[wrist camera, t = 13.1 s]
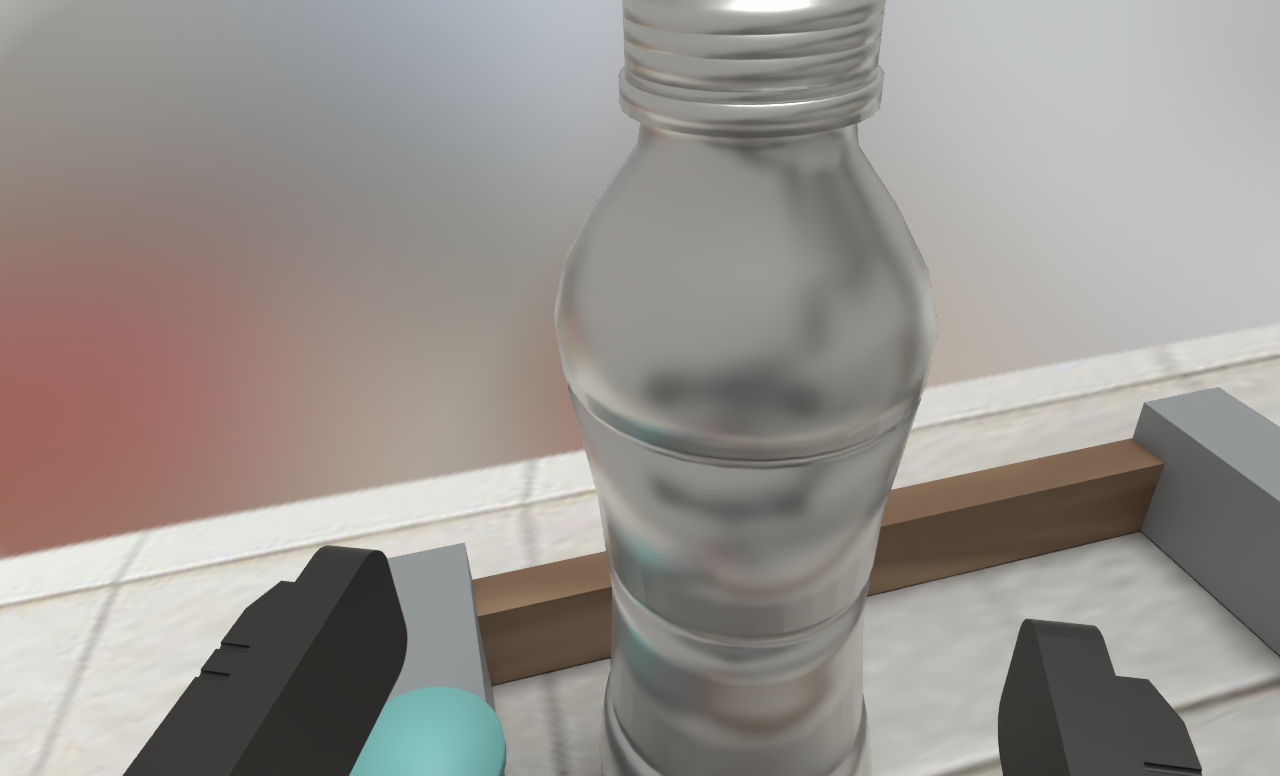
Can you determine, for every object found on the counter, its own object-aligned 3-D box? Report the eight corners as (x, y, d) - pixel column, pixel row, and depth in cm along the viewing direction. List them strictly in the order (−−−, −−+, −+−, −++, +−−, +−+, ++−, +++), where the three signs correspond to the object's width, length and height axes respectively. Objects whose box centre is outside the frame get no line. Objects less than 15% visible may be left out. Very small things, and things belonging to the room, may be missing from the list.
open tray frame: (486, 647, 28) (471, 579, 26) (1111, 504, 32) (1132, 438, 30) (568, 1217, 16) (551, 1159, 15) (1522, 873, 21) (1591, 799, 19)
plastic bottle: (754, 1008, 19) (822, 39, 8) (553, 806, 23) (420, -17, 12) (910, 805, 23) (1098, -44, 12) (713, 662, 27) (720, -66, 16)
